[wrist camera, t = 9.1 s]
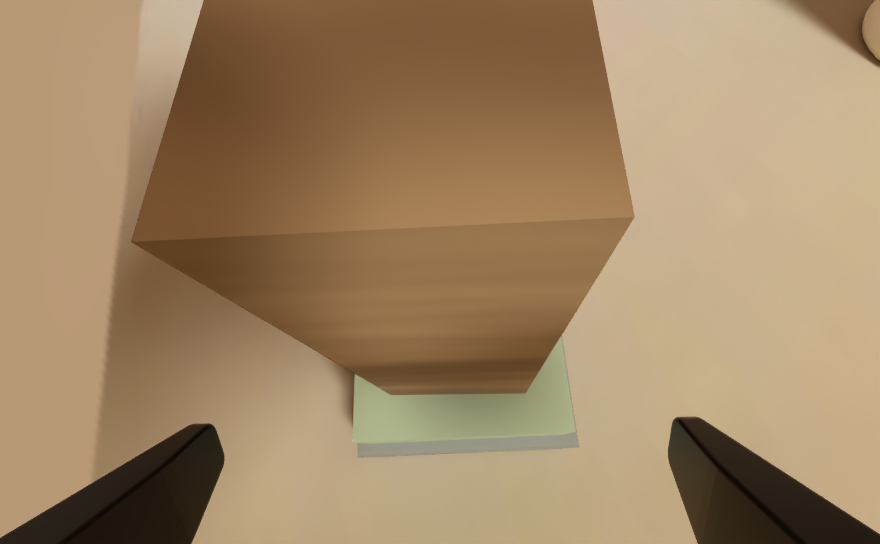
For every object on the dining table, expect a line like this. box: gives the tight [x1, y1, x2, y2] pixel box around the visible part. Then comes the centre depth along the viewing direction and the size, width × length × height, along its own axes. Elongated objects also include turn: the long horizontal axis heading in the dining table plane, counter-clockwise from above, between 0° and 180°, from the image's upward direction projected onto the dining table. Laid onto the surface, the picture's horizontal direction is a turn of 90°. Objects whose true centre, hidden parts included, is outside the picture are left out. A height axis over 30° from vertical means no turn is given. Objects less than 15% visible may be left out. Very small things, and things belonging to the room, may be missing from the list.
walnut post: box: [131, 0, 634, 395], centre depth 11 cm, size 5×5×13 cm
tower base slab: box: [358, 335, 579, 457], centre depth 21 cm, size 9×9×2 cm
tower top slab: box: [352, 337, 576, 444], centre depth 18 cm, size 8×8×2 cm
